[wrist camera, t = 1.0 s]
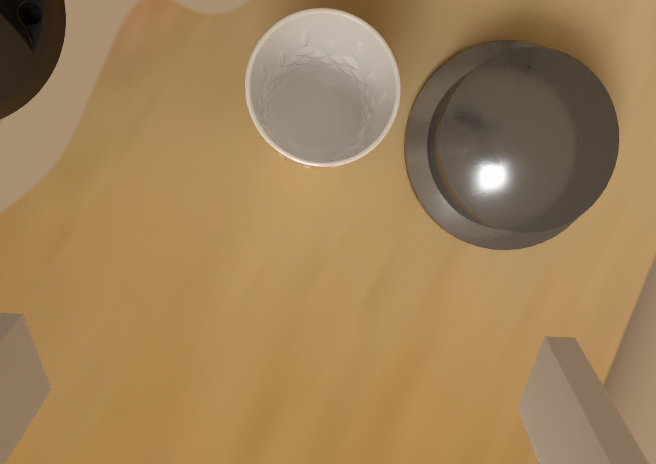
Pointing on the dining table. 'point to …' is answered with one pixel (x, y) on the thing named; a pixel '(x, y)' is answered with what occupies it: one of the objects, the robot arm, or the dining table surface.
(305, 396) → the dining table surface
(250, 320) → the dining table surface
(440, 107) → the grey round shallow piece
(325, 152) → the white cup
